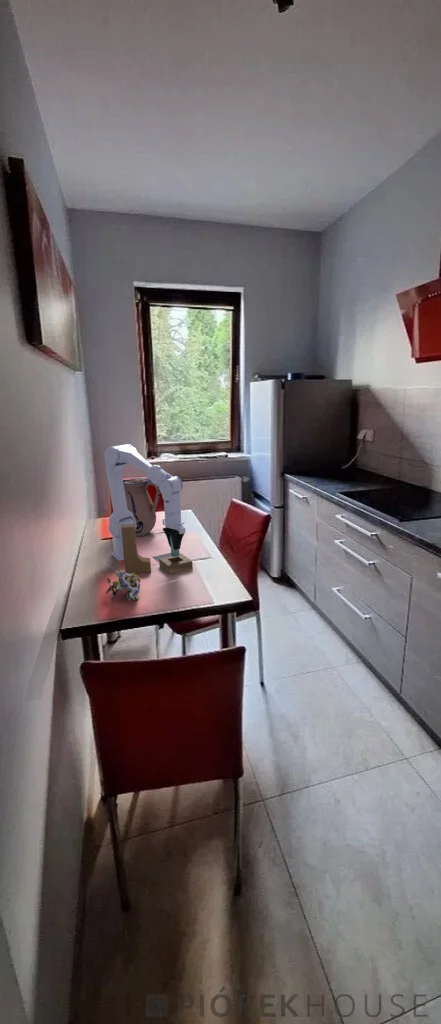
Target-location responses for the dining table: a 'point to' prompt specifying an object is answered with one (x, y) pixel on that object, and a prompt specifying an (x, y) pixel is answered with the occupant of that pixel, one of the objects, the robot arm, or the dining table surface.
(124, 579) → the passion flower
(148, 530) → the ceramic pitcher
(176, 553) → the peg
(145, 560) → the wooden block
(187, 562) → the hole block
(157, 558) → the mat
